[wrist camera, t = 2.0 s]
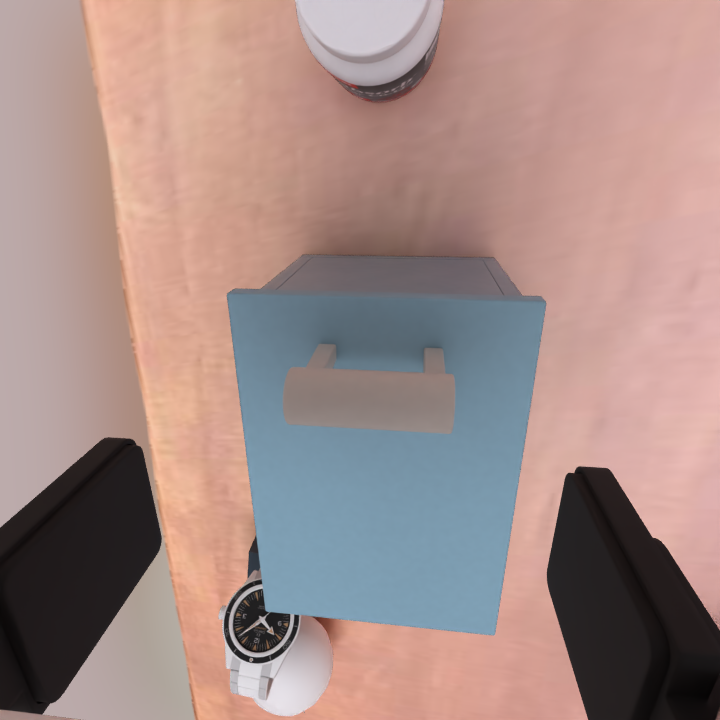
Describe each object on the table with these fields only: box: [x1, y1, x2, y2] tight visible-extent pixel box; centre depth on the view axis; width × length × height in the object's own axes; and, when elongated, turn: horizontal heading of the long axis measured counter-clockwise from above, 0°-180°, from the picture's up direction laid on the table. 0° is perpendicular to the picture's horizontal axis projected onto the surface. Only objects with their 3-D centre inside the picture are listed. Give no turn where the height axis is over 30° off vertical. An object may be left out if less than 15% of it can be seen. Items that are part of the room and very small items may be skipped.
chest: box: [261, 255, 522, 296], centre depth 26 cm, size 16×12×11 cm
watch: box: [219, 537, 301, 701], centre depth 34 cm, size 6×8×11 cm
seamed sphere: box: [253, 615, 333, 716], centre depth 39 cm, size 10×7×7 cm
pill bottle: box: [295, 0, 444, 102], centre depth 20 cm, size 6×6×10 cm
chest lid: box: [227, 289, 546, 635], centre depth 18 cm, size 17×12×5 cm
